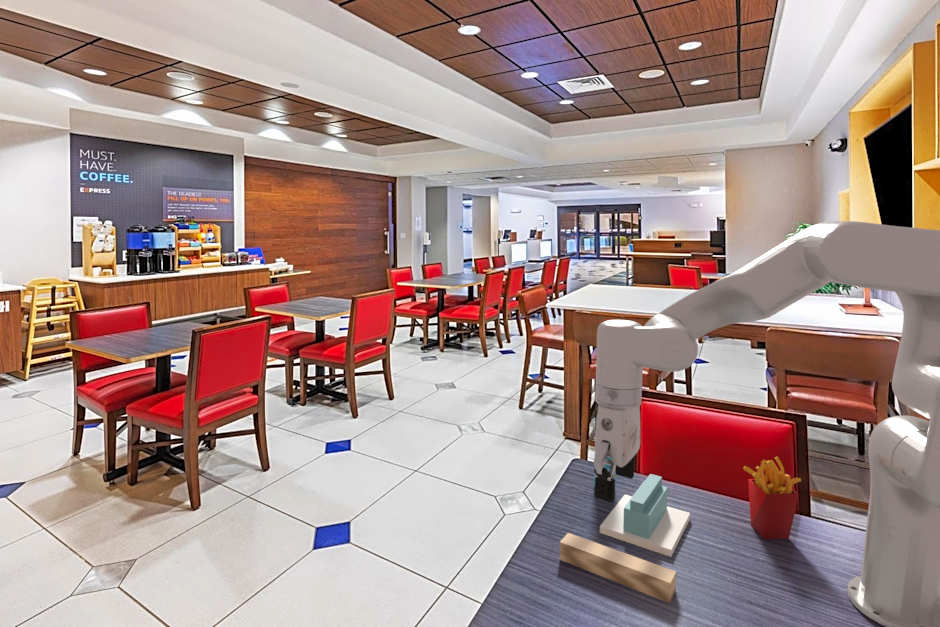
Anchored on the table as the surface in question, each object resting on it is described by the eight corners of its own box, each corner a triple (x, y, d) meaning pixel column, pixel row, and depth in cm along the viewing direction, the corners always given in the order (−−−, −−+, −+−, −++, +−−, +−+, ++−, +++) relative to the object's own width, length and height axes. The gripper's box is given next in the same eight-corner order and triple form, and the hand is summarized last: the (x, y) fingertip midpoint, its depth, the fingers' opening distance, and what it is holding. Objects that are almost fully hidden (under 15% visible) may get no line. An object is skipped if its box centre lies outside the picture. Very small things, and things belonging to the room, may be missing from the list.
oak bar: (675, 592, 86) (676, 571, 86) (669, 604, 84) (670, 583, 83) (567, 551, 98) (567, 532, 97) (559, 561, 95) (559, 541, 95)
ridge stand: (689, 519, 107) (691, 482, 106) (671, 557, 95) (672, 515, 94) (624, 500, 115) (625, 465, 114) (599, 532, 103) (600, 494, 102)
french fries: (796, 541, 99) (803, 469, 96) (754, 542, 99) (759, 470, 96) (770, 516, 107) (775, 449, 105) (731, 517, 107) (735, 450, 105)
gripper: (622, 413, 76) (618, 517, 79) (655, 384, 90) (651, 473, 93) (576, 403, 80) (574, 502, 83) (614, 377, 94) (611, 463, 97)
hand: (614, 487), depth 88 cm, fingers open, 9 cm apart
